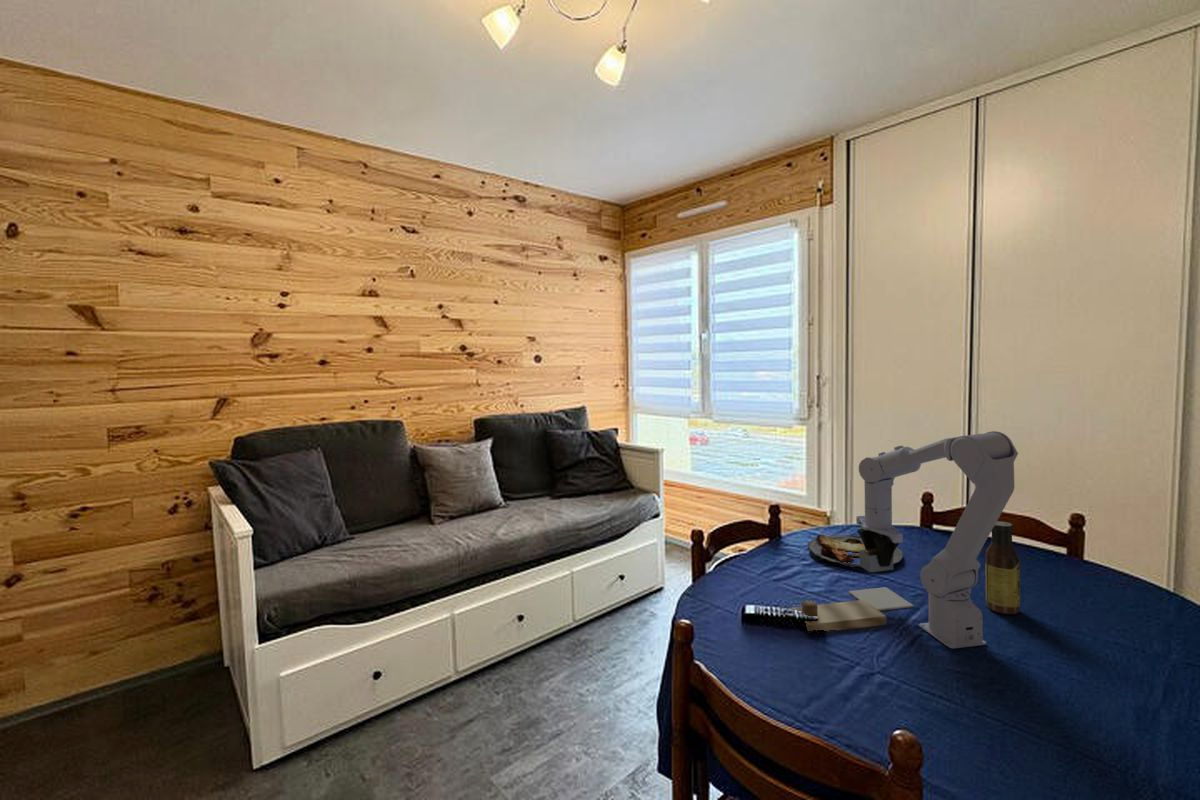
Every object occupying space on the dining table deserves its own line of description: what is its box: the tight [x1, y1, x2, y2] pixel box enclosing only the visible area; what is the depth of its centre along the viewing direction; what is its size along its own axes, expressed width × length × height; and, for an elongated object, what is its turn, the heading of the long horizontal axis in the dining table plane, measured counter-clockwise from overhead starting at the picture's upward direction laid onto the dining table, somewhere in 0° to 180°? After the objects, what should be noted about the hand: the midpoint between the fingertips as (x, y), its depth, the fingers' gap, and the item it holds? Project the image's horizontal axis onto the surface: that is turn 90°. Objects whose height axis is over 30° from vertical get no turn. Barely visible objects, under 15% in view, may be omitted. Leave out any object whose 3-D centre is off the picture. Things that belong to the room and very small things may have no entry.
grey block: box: [859, 548, 894, 573], centre depth 128 cm, size 6×4×5 cm, turn 97°
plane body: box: [790, 599, 887, 632], centre depth 121 cm, size 18×8×4 cm, turn 96°
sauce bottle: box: [984, 520, 1021, 615], centre depth 121 cm, size 7×6×20 cm
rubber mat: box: [848, 586, 914, 612], centre depth 129 cm, size 10×10×1 cm
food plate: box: [807, 533, 903, 568], centre depth 157 cm, size 25×23×4 cm
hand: (878, 562), depth 128 cm, fingers closed on grey block, 4 cm apart
